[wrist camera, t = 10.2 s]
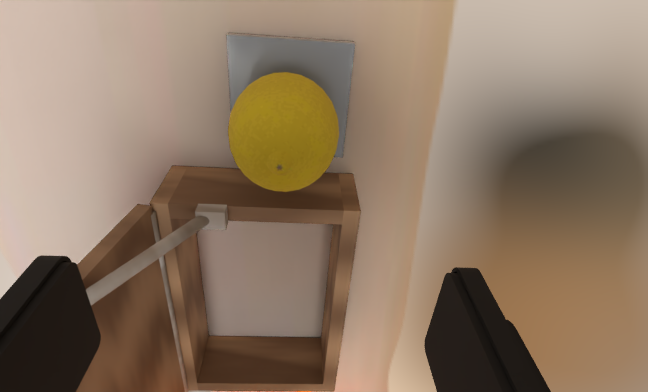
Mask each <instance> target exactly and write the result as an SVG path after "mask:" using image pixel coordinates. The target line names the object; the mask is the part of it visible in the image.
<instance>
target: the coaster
mask: <svg viewBox="0 0 648 392" xmlns="http://www.w3.org/2000/svg"><path fill="white" fill-rule="evenodd" d="M226 36H227V54H228V72H229V91H230V109H231V111H232V109H233V107H234V104H235V102H236V100H237V98H238V97H239V95H240V94H241V93H242V92H243V91H244V90H245V89H246V87H247V86H248V85H249V84H251V83H253V82H254V81H256V80H257V79H259V78H260V77H262V76H265V75H268V74H272V73H279V72H289V73H294V74H299V75H302V76H304V77H306V78H308V79H310V80H312V81H314V82H315V83H316V84H317V85H318V86H320V87H321V88H322V89H323V90H324V91H325V93H326V94H327V96H328V97H329V98H330V100H331V101H332V103H333V106H334V109H335V111H336V114H337V117H338V126H339V138H338V144H337V149H336V153H335V155H334V157H343V151H344V141H345V132H346V123H347V114H348V104H349V95H350V86H351V77H352V68H353V58H354V49H355V43H354V41H339V40H325V39H310V38H296V37H281V36H267V35H253V34H238V33H228V34H227V35H226Z"/></svg>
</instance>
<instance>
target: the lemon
mask: <svg viewBox="0 0 648 392" xmlns="http://www.w3.org/2000/svg"><path fill="white" fill-rule="evenodd" d="M228 136H229V144H230V150H231V152H232V155H233V157H234V160H235V162H236V164H237V166H238V167H239V168H240V170H241V171H242V172H243V174H244V175H245V176H246V177H247V178H249V179H250V180H251V181H252V182H253V183H255V184H257V185H259V186H261V187H263V188H265V189H269V190H273V191H282V192H288V191H294V190H299V189H302V188H304V187H306V186H309V185H310V184H312V183H313V182H315V181H316V180H317V179H319V178H320V177H321V176H322V174H323V173H324V172H325V171H326V170H327V169H328V167H329V165H330V163H331V161H332V159H333V157H334V155H335V153H336V149H337V144H338V138H339V126H338V117H337V114H336V111H335V109H334V106H333V103H332V101H331V100H330V98H329V97H328V96H327V94H326V93H325V91H324V90H323V89H322V88H321V87H320V86H318V85H317V84H316V83H315V82H314V81H312V80H310V79H308V78H306V77H304V76H302V75H299V74H294V73H289V72H279V73H272V74H268V75H265V76H262V77H260V78H259V79H257V80H256V81H254V82H253V83H251V84H249V85H248V86H247V87H246V89H245V90H244V91H243V92H242V93H241V94H240V95H239V97H238V98H237V100H236V102H235V104H234V107H233V109H232V111H231V114H230V120H229V126H228Z"/></svg>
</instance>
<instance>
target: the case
mask: <svg viewBox="0 0 648 392" xmlns="http://www.w3.org/2000/svg"><path fill="white" fill-rule="evenodd" d="M360 213H361V210H360V205H359V200H358V195H357V191H356V186H355V181H354V176H353V174H344V173H323V174H322V176H321V177H320V178H319V179H317V180H316V181H315V182H313V183H312V184H310V185H309V186H306V187H304V188H302V189H299V190H294V191H288V192H282V191H273V190H269V189H265V188H263V187H261V186H259V185H257V184H255V183H253V182H252V181H251V180H250V179H249V178H247V177H246V176H245V175H244V174H243V172H242V171H241V170H240V169H233V168H211V167H189V166H172V167H171V169H170V170H169V172H168V174H167V175H166V177H165V179H164V180H163V182H162V184H161V185H160V187H159V188H158V190H157V192H156V193H155V195H154V197H153V198H152V200H151V202H150V206H149V205H141V204H137V205H136V206H135V207H134V208H133V209H132V210H131V211H130V212H129V213H128V214H127V215H126V216H125V217H124V218H123V219H122V220H121V221H120V222H119V223H118V224H117V225H116V226H115V227H114V228H113V229H112V231H111V232H110V233H109V234H108V235H107V236H106V237H105V238H104V239H103V240H102V241H101V242H100V243H99V244H98V245H97V246H96V247H95V248H94V249H93V250H92V251H91V252H90V253H89V254H88V255H87V256H86V257H85V258H84V259H83V260H82V261H81V262H80V263H79V264H78V265H77V266H78V268H79V271H80V274H81V277H82V280H83V283H84V286H85V289H86V292H87V295H88V298H89V301H90V304H91V307H92V310H93V313H94V316H95V319H96V322H97V325H98V328H99V331H100V334H101V341H100V345H99V348H98V350H97V352H96V354H95V356H94V358H93V360H92V362H91V364H90V366H89V368H88V370H87V372H86V373H85V375H84V377H83V379H82V381H81V383H80V385H79V387H78V389H77V391H76V392H187V391H334V390H335V383H336V376H337V369H338V363H339V356H340V349H341V342H342V336H343V329H344V322H345V315H346V308H347V302H348V295H349V288H350V281H351V274H352V268H353V261H354V254H355V247H356V240H357V234H358V227H359V220H360ZM228 220H229V221H257V222H285V223H312V224H333V230H332V240H331V249H330V259H329V268H328V278H327V287H326V297H325V306H324V316H323V326H322V335H321V338H306V337H242V336H209V333H208V325H207V317H206V309H205V301H204V293H203V285H202V277H201V269H200V261H199V253H198V244H197V236H196V232H197V231H199V230H200V229H207V230H226V228H227V224H228Z"/></svg>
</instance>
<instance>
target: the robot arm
mask: <svg viewBox="0 0 648 392" xmlns="http://www.w3.org/2000/svg"><path fill="white" fill-rule="evenodd" d="M100 341H101V334H100V331H99V328H98V325H97V322H96V319H95V316H94V313H93V310H92V307H91V304H90V301H89V298H88V295H87V292H86V289H85V286H84V283H83V280H82V277H81V274H80V271H79V268H78V266H77V264H76V263H73V262H71V260H70V259H69V258H68V257H66V256H39V257H37V258H36V259H35V260H34V261H33V262H32V263H31V264H30V266H29V267H28V268H27V269H26V270H25V271H24V272H23V274H22V275H21V276H20V277H19V278H18V279H17V281H16V282H15V283H14V284H13V285H12V287H10V289H9V290H8V291H7V292H6V293H5V294H4V295H3V297H2V298H1V299H0V392H76V391H77V389H78V387H79V385H80V383H81V381H82V379H83V377H84V375H85V373H86V372H87V370H88V368H89V366H90V364H91V362H92V360H93V358H94V356H95V354H96V352H97V350H98V348H99V345H100ZM425 352H426V356H427V359H428V362H429V366H430V369H431V373H432V376H433V379H434V383H435V386H436V389H437V392H551V391H550V389H549V388H548V386H547V384H546V382H545V380H544V378H543V377H542V375H541V373H540V371H539V369H538V368H537V366H536V364H535V362H534V360H533V359H532V357H531V355H530V353H529V351H528V350H527V348H526V346H525V344H524V342H523V340H522V339H521V337H520V335H519V333H518V331H517V330H516V328H515V327H514V325H513V324H512V323H511V322H510V321H509V320H506V319H505V317H504V315H503V313H502V312H501V310H500V308H499V306H498V304H497V302H496V300H495V299H494V297H493V295H492V293H491V291H490V290H489V287H488V286H487V284H486V282H485V280H484V278H483V276H482V274H481V273H480V271H479V270H478V269H477V268H454V269H453V270H452V272H451V273H447V274H446V275H445V277H444V281H443V284H442V287H441V291H440V293H439V297H438V300H437V303H436V306H435V309H434V312H433V316H432V319H431V322H430V325H429V328H428V332H427V335H426V338H425Z"/></svg>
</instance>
